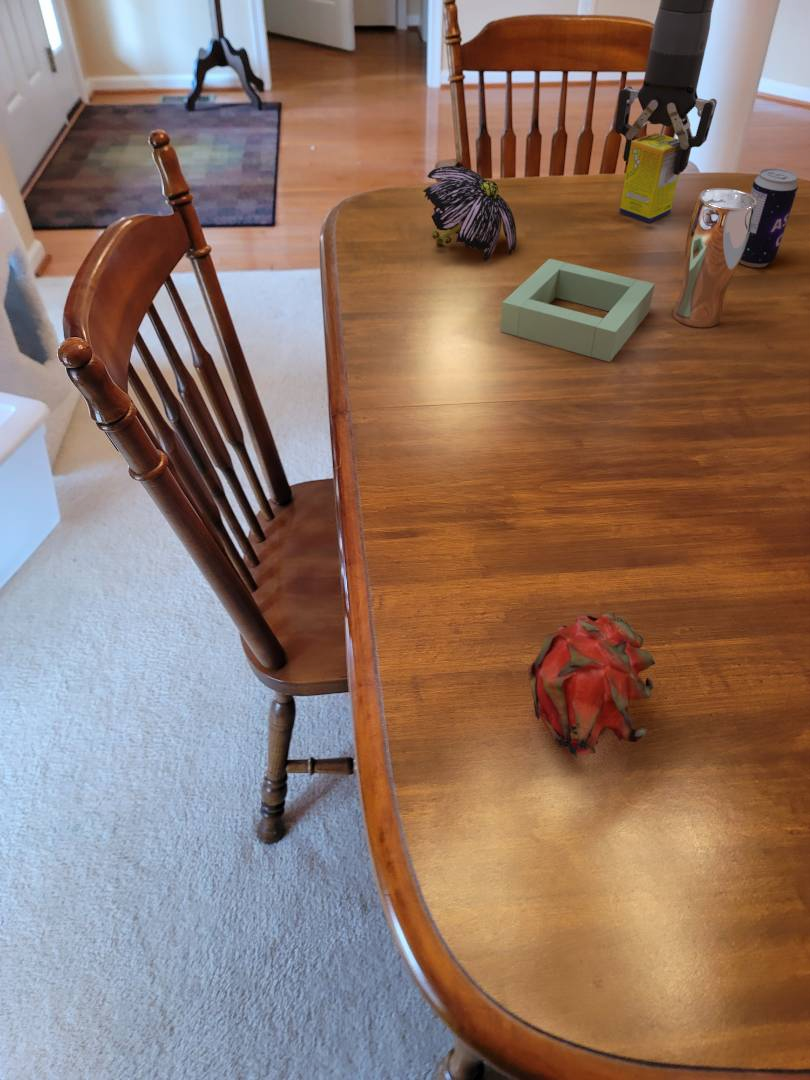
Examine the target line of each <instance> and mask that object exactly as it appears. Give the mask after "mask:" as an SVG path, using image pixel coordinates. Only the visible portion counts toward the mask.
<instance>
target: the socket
mask: <svg viewBox="0 0 810 1080" xmlns="http://www.w3.org/2000/svg"><path fill="white" fill-rule="evenodd" d="M655 287H656V283H653V282H649V281H645V280H642V279H641V280H640V279H637V278H632V277H628V276H624V275H620V274H615V273H611V272H606V271H603V270H600V269H599V270H598V269H594V268H592V267H591V268H590V267H586V266H583V265H578V264H575V263H574V264H573V263H569V262H566V261H563V260H562V261H561V260H558V259H553V258H548V259H547V260H546V261H545V262H544V263H543V264H542V265H540V266H539V268H538V269H536V270H535V272H533V273H532V274H531V275H530V276H529V277H527V279H525V281H524V282H523V283H521V284H520V285H519V286H518V287H516V289H515V290H514V291H513V292H512V293H510V295H508V296H507V297H506V298H505V299H504V300H503V301H502V305H501V315H500V327H499V332H500V333H504V334H508V335H512V336H515V337H518V338H522V339H525V340H529V341H533V342H536V343H539V344H542V345H547V346H551V347H554V348H557V349H560V350H564V351H568V352H571V353H575V354H578V355H582V356H586V357H589V358H592V359H597V360H602V361H604V362H608V363H611V361H612V360H613V359H614V358H615V356H616V355H617V354H618V352H619V351H620V350H621V349H622V347H624V345H625V344H626V342H627V341H628V340H629V338H630V337H631V336H632V335H633V334H634V332H635V331H636V330H637V328H638V327H639V326H640V325H641V323H642V322H643V321H644V319H645V318H646V317H647V316H648V314H649V313H650V310H651V304H652V299H653V295H654V290H655ZM555 299H559V300H563V301H566V302H571V303H574V304H579V305H582V306H587V307H590V308H594V309H597V310H602V311H606V312H608V313H606V315H605V316H604V317H600V316H597V315H592V314H589V313H585V312H581V311H578V310H577V311H576V310H573V309H570V308H566V307H562V306H558V305H554V304H552V302H553V301H554V300H555Z"/></svg>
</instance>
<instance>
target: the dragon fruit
mask: <svg viewBox="0 0 810 1080" xmlns="http://www.w3.org/2000/svg"><path fill="white" fill-rule="evenodd" d="M643 645H644V638H643V637H642V635H640V634H639V633H638V632H636V631H635V630H634V628H633V627H632V626H631V625H630V624H628V623H627V622H626V621H625V620H624V619H623V617H622V616H620V615H617V618H616V615H615V613H613V612H606V613H602V614H601V615H599V616H597V617H596V616H592V615H589V614H581V615H578V616H576V617H575V619H574V624H572V625H568V626H566V625H560V626H559V627H558V628H557V630H556V632H551V633H548V634H546V635H545V636H544V637H543V639H542V645H541V648H540V651H539V653H538V655H537V656H536V658H535V660H534V661H533V662H532V663H531V664H530V665H529V667H528V669H527V677H528V681H529V686H530V690H531V697H532V700H533V708H534V715H535V718H536V719H537V720H540V719H541V722H542V723H543V725H544V726H545V728H546V729H547V730H548V732H549V733H551V736H552V737H553V739H554V743H556V744H557V745H558V746H559V747H562V746H563V747H565V748H567V749H568V752H569V753H570V754H571V755H573V756H574V758H577V757H579V756H586V755H591V754H596V749H595V747H596V746H597V745H598V743H599V739H600V737H599V735H600V732H601V731H602V730H603V729H605V728H606V727H607V728H608V729H609V730H611V731H612V732H613V733H614V735H615V736H616V738H617V739H618V740H619V741H622V740H624V741H627V742H631V743H637V742H639V741H640V740H641V739H644V737H645V736H646V734H647V733H648V731H649V729H648V728H644V727H642V728H641V727H640V728H637V729H635V728H633V727H632V726H633V723H634V721H633V718H632V716H630V714H629V704H630V703H629V701H630V700H646V699H650V698H651V697H652V695H653V693H652V692H653V691H652V690H653V689H654V684H653V681H652V680H651V679H650V678H649V677H646V679H645V682H644V680H643V679H642V678H641V676H640V673H641V672H643V671H645V670H647V669H649V668H650V667H652V666H654V665H656V660H655V659H654V657H653V655H652V654H651V653H650V652H649V651H648V650H646V649H643V648H642V647H643Z"/></svg>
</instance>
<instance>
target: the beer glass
mask: <svg viewBox="0 0 810 1080" xmlns="http://www.w3.org/2000/svg"><path fill="white" fill-rule="evenodd" d="M756 204H757V200H756V199H755V198H754V197H753V196H752V195H750V193H748V192H745V191H742V190H739V189H733V188H726V187H725V188H724V187H714V188H708V189H707V188H706V189H704V190H701V191H700V192H699V193H698V196H697V200H696V204H695V207H694V209H693V212H692V217H691V219H690V222H689V226H688V229H687V230H688V231H687V234H686V235H687V236H686V240H685V248H684V249H685V250H684V260H683V261H684V262H683V277H682V278H683V279H682V284H681V289H680V292H679V295H678V297H677V300H676V302H675V304H674V307H673V309H672V316H673V318H674V319H675V320H676V321H677V322H679V323H681V324H682V325H686V326H689V327H692V328H700V329H701V328H703V329H705V328H706V329H707V328H712V327H715V326H717V325H719V324H720V323H721V321H722V319H723V310H724V306H723V305H724V302H725V301H724V300H725V295H726V292H727V290H728V287H729V285H730V283H731V280H732V279H733V276H734V274H735V272H736V271H737V268H738V266H739V264H740V260H741V258H742V255H743V253H744V250H745V248H746V245H747V242H748V239H749V235H750V231H751V227H752V222H753V217H754V212H755V207H756Z"/></svg>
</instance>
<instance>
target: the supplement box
mask: <svg viewBox="0 0 810 1080" xmlns="http://www.w3.org/2000/svg"><path fill="white" fill-rule="evenodd" d="M679 148H681V146H680V143H679V139H678V138H676V137H671V136H669V135H665V134H662V133H658V132H652V133H650V134H647V135H644V136H641V137H639V138H638V139H635V140H633V141H631V148H630V154H629V159H628V165H627V166H626V171H625V176H624V182H623V187H622V188H623V189H622V194H621V199H620V205H619V211H618V212H619V214H621V215H624V216H627V217H630V218H633V219H635V220H637V221H642V222H644V223H646V224H650V223H653V222H655V221H657V220H659V219H661V218H663V217H665V216H667V215H670V214H671V212H672V207H673V203H674V199H675V198H674V197H675V193H676V189H677V184H678V179H679V175H675V174H674V169H675V164H676V159H677V155H678V150H679Z"/></svg>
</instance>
